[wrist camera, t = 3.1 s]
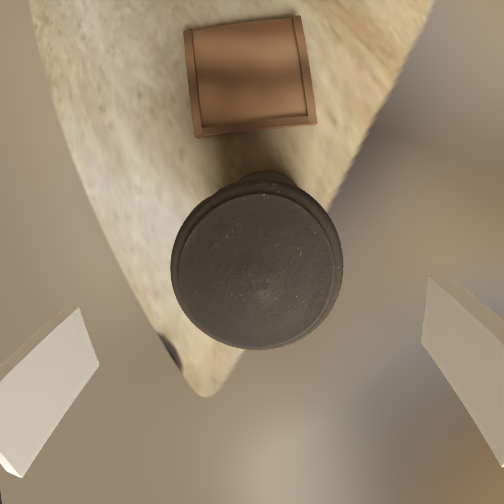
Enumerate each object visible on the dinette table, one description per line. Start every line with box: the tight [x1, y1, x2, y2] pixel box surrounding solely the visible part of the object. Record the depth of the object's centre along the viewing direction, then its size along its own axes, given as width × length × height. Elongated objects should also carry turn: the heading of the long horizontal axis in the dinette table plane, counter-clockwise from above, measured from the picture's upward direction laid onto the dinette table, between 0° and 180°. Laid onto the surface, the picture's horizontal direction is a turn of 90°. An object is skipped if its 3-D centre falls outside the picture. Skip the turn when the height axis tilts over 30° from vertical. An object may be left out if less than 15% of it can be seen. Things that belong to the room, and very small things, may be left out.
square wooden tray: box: [184, 16, 317, 138], centre depth 29 cm, size 12×12×2 cm
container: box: [170, 171, 343, 350], centre depth 24 cm, size 9×9×20 cm
